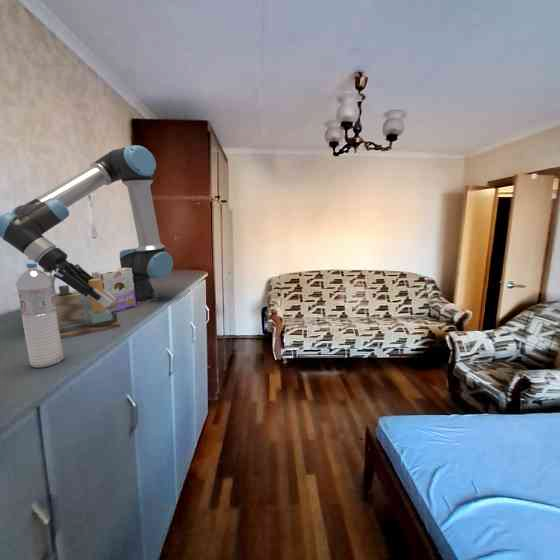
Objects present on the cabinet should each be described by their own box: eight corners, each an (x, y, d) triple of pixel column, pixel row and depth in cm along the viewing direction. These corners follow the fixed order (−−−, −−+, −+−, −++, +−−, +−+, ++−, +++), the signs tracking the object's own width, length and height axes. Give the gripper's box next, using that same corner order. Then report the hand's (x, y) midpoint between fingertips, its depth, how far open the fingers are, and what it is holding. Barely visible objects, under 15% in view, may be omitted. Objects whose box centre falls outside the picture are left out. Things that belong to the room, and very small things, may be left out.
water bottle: (58, 366, 74) (41, 264, 69) (24, 370, 72) (5, 266, 67) (68, 355, 80) (54, 261, 76) (38, 358, 78) (21, 262, 74)
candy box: (127, 305, 131) (123, 267, 128) (137, 306, 128) (133, 267, 125) (96, 313, 118) (91, 271, 116) (106, 315, 116) (100, 272, 113)
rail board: (114, 321, 108) (113, 310, 107) (119, 326, 103) (118, 315, 102) (51, 334, 96) (49, 322, 95) (54, 340, 91) (52, 327, 90)
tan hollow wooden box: (80, 317, 114) (76, 291, 112) (84, 321, 108) (80, 294, 106) (53, 321, 109) (49, 294, 107) (56, 327, 103) (52, 298, 101)
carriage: (106, 315, 106) (102, 277, 103) (111, 319, 101) (107, 279, 98) (88, 318, 102) (83, 279, 100) (93, 323, 97) (87, 282, 95)
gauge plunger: (70, 300, 109) (67, 285, 108) (71, 302, 107) (69, 286, 106) (60, 302, 107) (58, 286, 106) (61, 303, 105) (59, 287, 104)
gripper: (52, 261, 103) (111, 305, 109) (23, 267, 87) (94, 318, 94) (67, 244, 103) (125, 289, 109) (41, 248, 87) (110, 300, 94)
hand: (110, 303), depth 101 cm, fingers closed on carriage, 3 cm apart
